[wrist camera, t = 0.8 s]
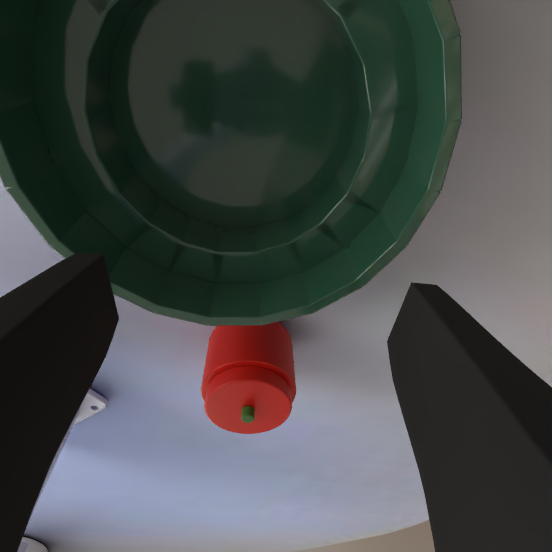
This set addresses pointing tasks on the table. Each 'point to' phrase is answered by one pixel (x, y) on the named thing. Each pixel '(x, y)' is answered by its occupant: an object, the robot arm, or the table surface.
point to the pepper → (249, 377)
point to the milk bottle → (33, 545)
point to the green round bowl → (229, 142)
